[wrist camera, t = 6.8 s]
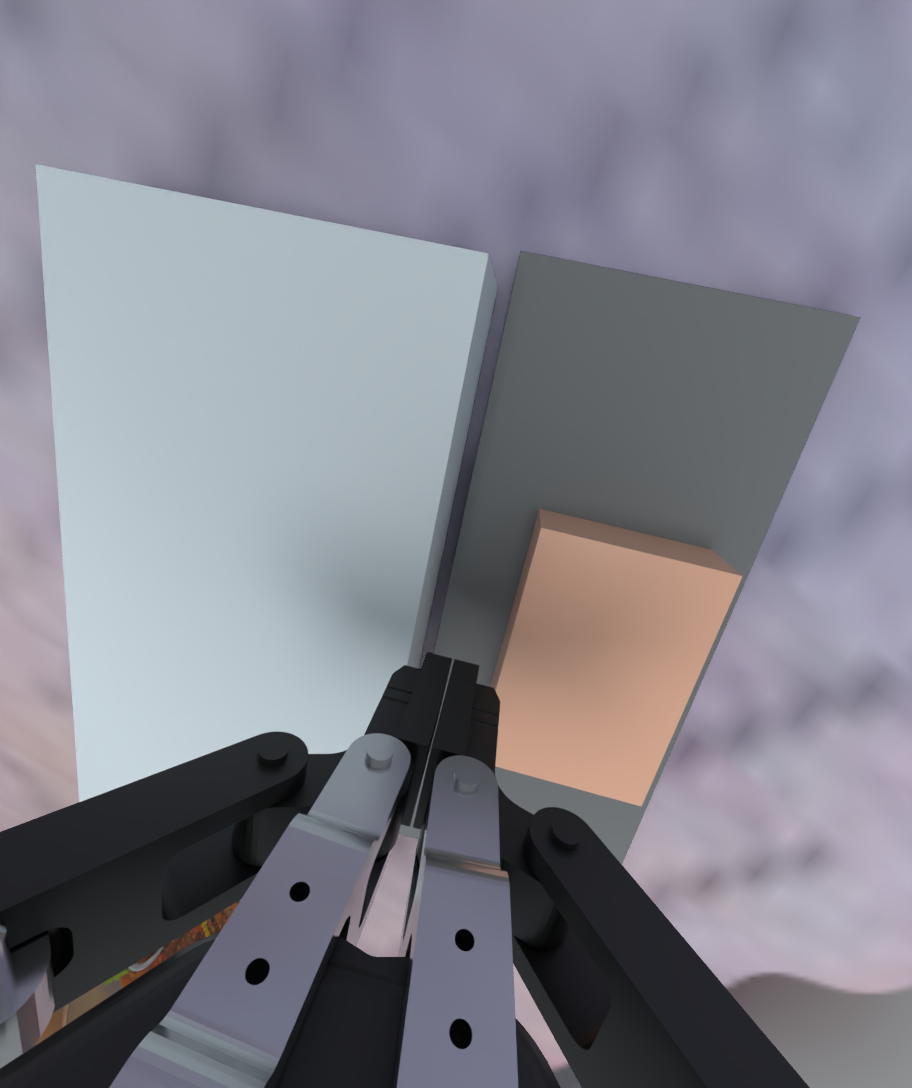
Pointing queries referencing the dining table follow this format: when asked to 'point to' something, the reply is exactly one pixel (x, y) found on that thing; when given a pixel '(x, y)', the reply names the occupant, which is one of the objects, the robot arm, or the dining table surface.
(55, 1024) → the tin
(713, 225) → the dining table surface
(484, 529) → the mat
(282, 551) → the plate
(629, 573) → the peach rectangular block
